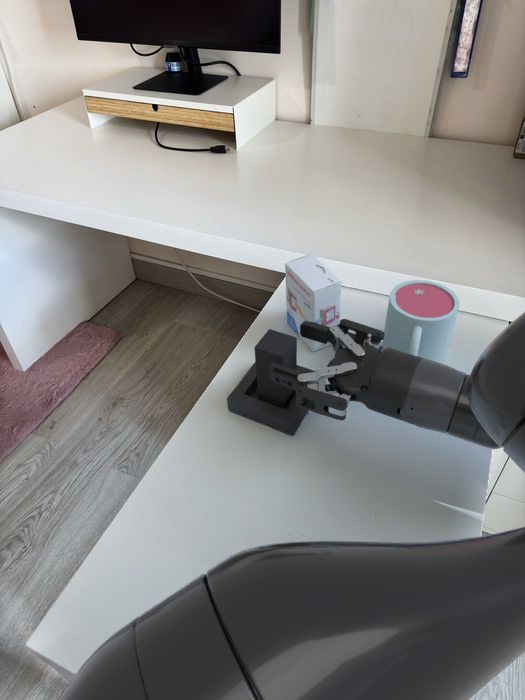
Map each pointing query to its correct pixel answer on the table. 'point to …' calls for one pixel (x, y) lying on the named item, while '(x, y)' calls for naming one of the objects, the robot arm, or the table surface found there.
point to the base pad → (265, 405)
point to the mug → (421, 319)
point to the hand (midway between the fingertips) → (286, 348)
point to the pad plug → (280, 352)
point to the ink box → (311, 295)
